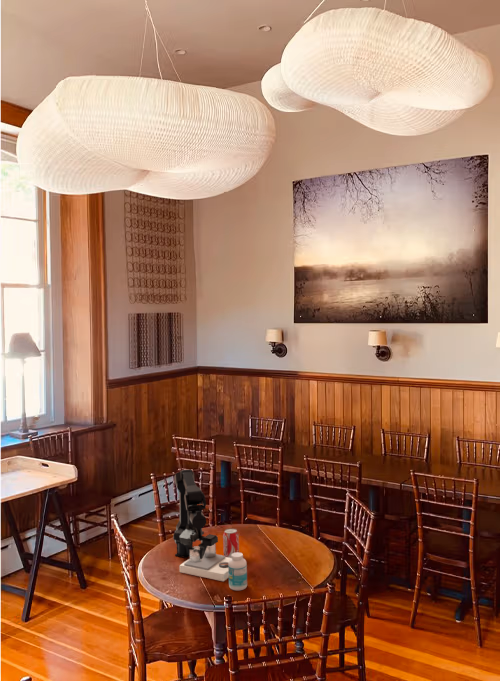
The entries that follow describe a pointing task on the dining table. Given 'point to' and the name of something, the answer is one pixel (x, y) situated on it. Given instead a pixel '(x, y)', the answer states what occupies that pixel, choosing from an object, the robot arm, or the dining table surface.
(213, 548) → the cylinder
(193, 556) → the cylinder
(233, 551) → the soda can
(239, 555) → the pill bottle
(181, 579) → the dining table surface
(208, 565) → the scale
